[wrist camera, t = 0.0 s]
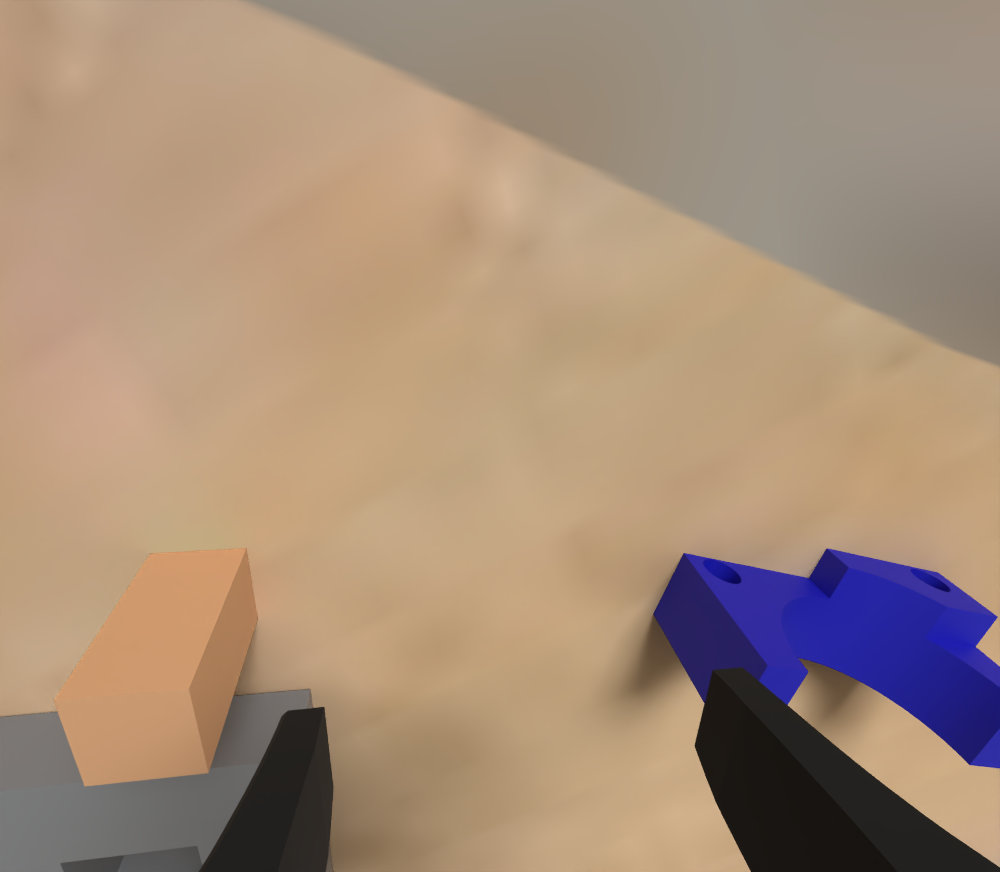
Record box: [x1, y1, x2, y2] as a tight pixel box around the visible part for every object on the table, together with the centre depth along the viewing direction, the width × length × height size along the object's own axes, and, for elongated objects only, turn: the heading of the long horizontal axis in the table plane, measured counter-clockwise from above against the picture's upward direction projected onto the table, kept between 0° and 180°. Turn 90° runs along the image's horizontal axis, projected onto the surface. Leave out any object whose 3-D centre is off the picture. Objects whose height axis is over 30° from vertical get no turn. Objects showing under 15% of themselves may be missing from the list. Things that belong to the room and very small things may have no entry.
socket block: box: [0, 689, 333, 872], centre depth 23 cm, size 12×12×3 cm
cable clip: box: [654, 548, 1000, 768], centre depth 22 cm, size 12×4×6 cm, turn 72°
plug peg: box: [54, 548, 258, 786], centre depth 18 cm, size 3×3×6 cm
